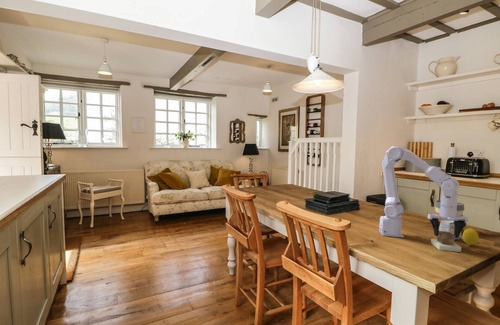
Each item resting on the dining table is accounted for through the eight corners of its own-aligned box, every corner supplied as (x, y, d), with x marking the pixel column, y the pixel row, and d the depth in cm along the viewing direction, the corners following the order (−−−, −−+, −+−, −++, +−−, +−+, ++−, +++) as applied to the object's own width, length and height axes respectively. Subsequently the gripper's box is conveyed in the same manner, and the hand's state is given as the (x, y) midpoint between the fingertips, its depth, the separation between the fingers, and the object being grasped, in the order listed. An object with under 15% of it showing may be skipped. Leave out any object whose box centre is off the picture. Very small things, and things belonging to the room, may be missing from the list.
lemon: (461, 242, 119) (463, 225, 119) (477, 245, 116) (478, 228, 115) (461, 245, 115) (463, 228, 115) (478, 249, 112) (479, 231, 111)
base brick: (439, 250, 110) (439, 245, 110) (430, 243, 118) (431, 238, 118) (460, 253, 108) (461, 247, 108) (451, 246, 116) (451, 240, 116)
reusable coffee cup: (434, 231, 134) (437, 203, 133) (431, 225, 145) (432, 199, 144) (465, 236, 128) (467, 206, 127) (459, 229, 139) (461, 201, 138)
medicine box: (448, 240, 121) (450, 222, 120) (439, 237, 125) (440, 220, 125) (461, 239, 123) (462, 221, 122) (451, 236, 127) (452, 219, 127)
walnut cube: (441, 244, 111) (442, 234, 111) (437, 240, 115) (437, 230, 115) (453, 245, 110) (454, 235, 110) (448, 241, 114) (449, 231, 114)
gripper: (433, 206, 109) (431, 237, 110) (473, 209, 106) (470, 241, 107) (426, 203, 116) (424, 232, 117) (463, 205, 113) (461, 235, 114)
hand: (446, 236), depth 113 cm, fingers open, 7 cm apart
